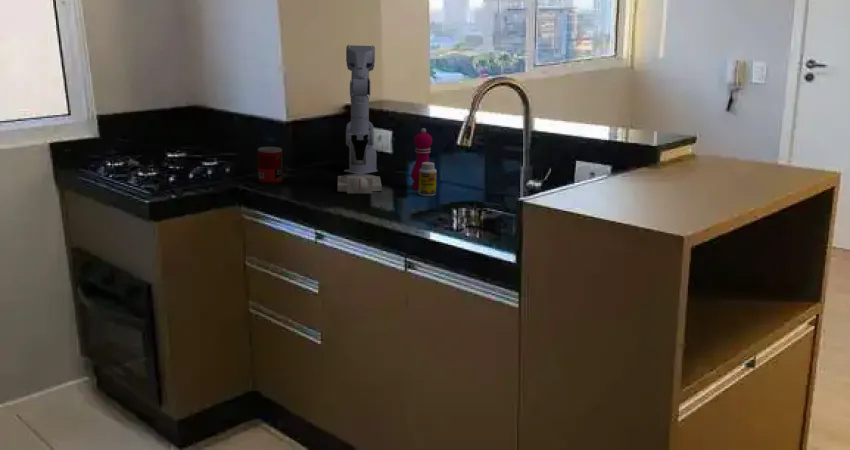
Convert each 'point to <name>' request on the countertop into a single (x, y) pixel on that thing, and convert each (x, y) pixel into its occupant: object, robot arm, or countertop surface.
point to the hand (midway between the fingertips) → (359, 158)
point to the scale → (359, 183)
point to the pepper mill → (420, 155)
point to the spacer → (353, 158)
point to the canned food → (270, 164)
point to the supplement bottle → (427, 179)
